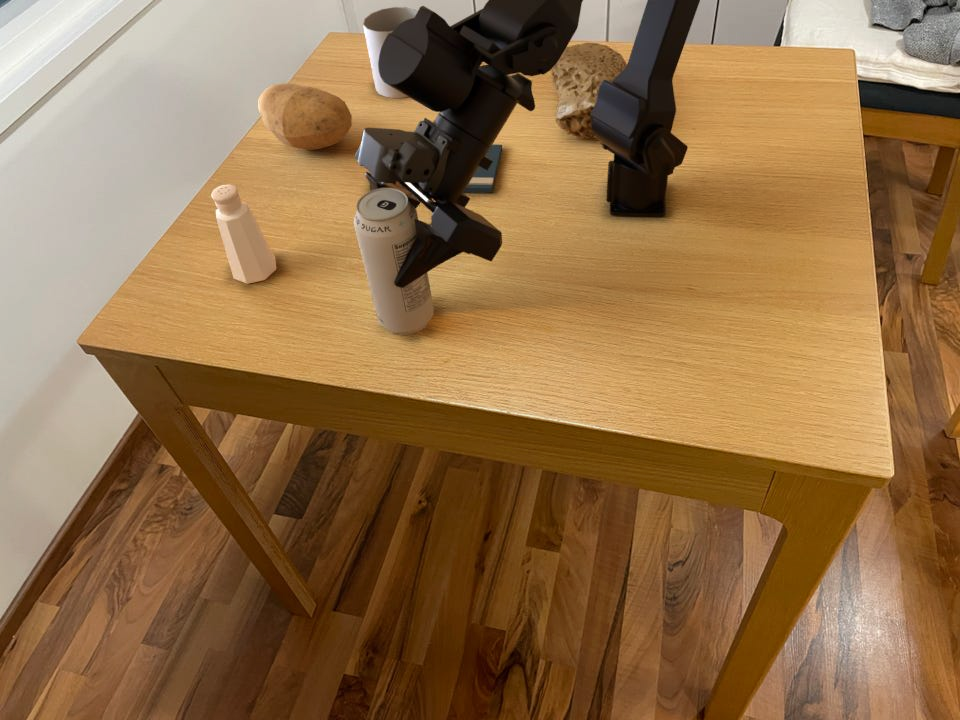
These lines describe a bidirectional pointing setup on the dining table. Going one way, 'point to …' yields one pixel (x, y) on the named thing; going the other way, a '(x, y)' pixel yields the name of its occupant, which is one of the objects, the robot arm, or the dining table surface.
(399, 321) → the energy drink can
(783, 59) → the dining table surface
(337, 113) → the potato
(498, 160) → the book
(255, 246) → the pepper shaker
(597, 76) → the sponge
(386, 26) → the cup
